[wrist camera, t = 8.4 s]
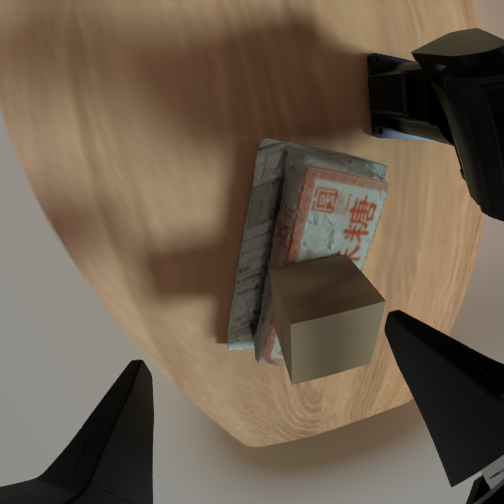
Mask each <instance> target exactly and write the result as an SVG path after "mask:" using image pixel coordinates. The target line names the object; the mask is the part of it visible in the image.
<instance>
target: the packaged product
mask: <svg viewBox="0 0 504 504" xmlns="http://www.w3.org/2000/svg"><path fill="white" fill-rule="evenodd" d="M386 169H387V166H385V165H382V164H379V163H376V162H373V161H370V160H366V159H363V158H359V157H356V156H353V155H349V154H345V153H340V152H335V151H330V150H325V149H319V148H314V147H308V146H303V145H298V144H294V143H289V142H284V141H280V140H275V139H270V138H266V139H264V140H263V141H261V142H260V145H259V148H258V152H257V156H256V161H255V171H254V180H253V188H252V192H251V197H250V201H249V206H248V210H247V215H246V220H245V225H244V233H243V239H242V245H241V250H240V256H239V261H238V266H237V272H236V278H235V287H234V294H233V300H232V305H231V311H230V318H229V326H228V350H247V349H255V359H256V360H257V362H258V363H259V362H261V363H269V364H272V365H280V366H281V365H286V364H285V360H284V357H283V354H282V351H281V347H280V344H279V341H278V337H277V334H276V331H275V326H274V314H273V303H272V291H271V280H270V269H269V268H273V267H278V266H284V265H290V264H295V263H301V262H306V261H312V260H317V259H323V258H328V257H333V256H339V255H344V254H347V256H348V257H349V258H350V259H351V260H352V261H353V263H354V264H355V265H356V266H357V267H358V268H359V270H360V271H361V270H362V268H363V265H364V262H365V260H366V257H367V254H368V251H369V248H370V245H371V243H372V239H373V237H374V234H375V231H376V227H377V224H378V222H379V219H380V216H381V213H382V208H383V206H384V203H385V199H386V196H387V192H388V183H387V182H386V181H385V179H384V178H385V174H386Z"/></svg>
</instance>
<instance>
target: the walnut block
mask: <svg viewBox="0 0 504 504" xmlns="http://www.w3.org/2000/svg"><path fill="white" fill-rule="evenodd" d="M269 269H270V280H271V291H272V303H273V314H274V326H275V331H276V334H277V337H278V341H279V344H280V347H281V351H282V354H283V357H284V360H285V364H286V367H287V370H288V373H289V377H290V380H291V383H292V384H297V383H301V382H305V381H309V380H313V379H317V378H321V377H325V376H328V375H332V374H336V373H339V372H342V371H346V370H349V369H352V368H356V367H359V366H362V365H365V364H368V363H370V360H371V357H372V353H373V350H374V346H375V343H376V339H377V335H378V331H379V327H380V323H381V319H382V315H383V310H384V306H385V300H384V298H383V297H382V296H381V295H380V293H379V292H378V291H377V290H376V289H375V287H374V286H373V285H372V284H371V283H370V281H369V280H368V279H367V278H366V277H365V275H364V274H363V273H362V272H361V271H360V270H359V268H358V267H357V266H356V265H355V264H354V263H353V261H352V260H351V259H350V258H349V257H348V256H347V254H344V255H339V256H333V257H328V258H323V259H317V260H312V261H306V262H301V263H295V264H290V265H284V266H278V267H273V268H269Z"/></svg>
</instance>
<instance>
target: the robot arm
mask: <svg viewBox="0 0 504 504" xmlns="http://www.w3.org/2000/svg"><path fill="white" fill-rule="evenodd" d="M411 53H412V55H413V57H414V59H415V60H416V61H415V62H414V61H410V60H406V59H401V58H397V57H392V56H388V55H382V54H377V53H372V54H369V55H368V57H367V61H368V71H369V77H368V86H369V101H370V110H371V118H372V133H373V135H374V136H375V137H378V138H394V139H412V140H425V141H438V142H441V143H445V144H448V145H452V146H454V147H455V150H456V154H457V157H458V160H459V164H460V167H461V169H460V172H461V176H462V178H463V179H464V180H465V181H466V183H467V187H468V190H469V193H470V196H471V197H472V198H473V199H474V200H475V202H476V203H477V204H478V205H479V206H480V208H481V211H482V212H483V213H485V214H486V215H488V216H490V217H492V218H495V219H498V220H501V221H504V39H501V38H499V37H497V36H495V35H493V34H490V33H488V32H486V31H483V30H481V29H478V28H474V29H467V30H461V31H456V32H451V33H448V34H446V35H444V36H442V37H440V38H438V39H436V40H434V41H432V42H430V43H428V44H426V45H424V46H422V47H420V48H418V49H416V50H415V51H413V52H411ZM373 57H374V58H375V59H376V62H374V61H373ZM378 129H380V133H379V134H378V132H377V131H378ZM385 334H386V337H387V339H388V342H389V344H390V347H391V349H392V352H393V354H394V357H395V360H396V362H397V365H398V367H399V369H400V371H401V373H402V375H403V377H404V379H405V381H406V383H407V385H408V387H409V389H410V391H411V393H412V395H413V397H414V399H415V401H416V404H417V406H418V408H419V410H420V412H421V414H422V416H423V419H424V421H425V423H426V425H427V428H428V430H429V432H430V435H431V437H432V439H433V442H434V444H435V447H436V449H437V452H438V454H439V457H440V459H441V462H442V464H443V467H444V469H445V472H446V475H447V477H448V480H449V483H450V485H451V487H453V486H455V485H457V484H459V483H461V482H462V481H464V480H466V479H468V478H469V477H471V476H473V475H474V474H476V473H477V472H479V471H481V472H482V475H481V476H480V477H479V478H477V479H476V480H475V481H474V483H473V486H472V489H471V492H470V494H469V497H468V500H467V502H466V504H504V364H502V363H500V362H497V361H495V360H493V359H491V358H489V357H487V356H485V355H483V354H481V353H479V352H477V351H475V350H473V349H471V348H469V347H468V346H466V345H464V344H462V343H460V342H459V341H457V340H455V339H453V338H451V337H449V336H447V335H446V334H444V333H442V332H440V331H438V330H436V329H434V328H433V327H431V326H429V325H427V324H425V323H423V322H421V321H419V320H418V319H416V318H414V317H412V316H410V315H408V314H406V313H404V312H402V311H401V310H394V311H391V312H389V313H388V316H387V320H386V324H385ZM153 426H154V405H153V385H152V376H151V373H150V371H149V369H148V368H147V366H146V364H145V363H144V361H143V360H133V361H131V362H130V363H129V364H128V366H127V367H126V368H125V370H124V371H123V372H122V373H121V375H120V376H119V377H118V379H117V380H116V381H115V383H114V384H113V385H112V387H111V388H110V390H109V391H108V392H107V393H106V395H105V396H104V397H103V399H102V400H101V402H100V403H99V404H98V405H97V407H96V408H95V409H94V411H93V412H92V413H91V415H90V416H89V418H88V419H87V420H86V422H85V423H84V424H83V426H82V429H80V430H79V431H78V433H77V434H76V435H75V437H74V438H73V439H72V441H71V442H70V443H69V445H68V446H67V447H66V448H65V449H64V450H63V452H62V453H61V454H60V455H59V456H58V457H57V458H56V460H55V461H54V462H53V463H52V464H51V465H50V466H49V467H48V469H47V470H46V471H45V472H44V473H43V474H41V475H40V476H39V477H37V478H35V479H32V480H28V481H24V482H20V483H16V484H12V485H7V486H3V487H0V504H153V484H152V483H153V482H152V481H153V479H152V464H153V463H152V462H153Z"/></svg>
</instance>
